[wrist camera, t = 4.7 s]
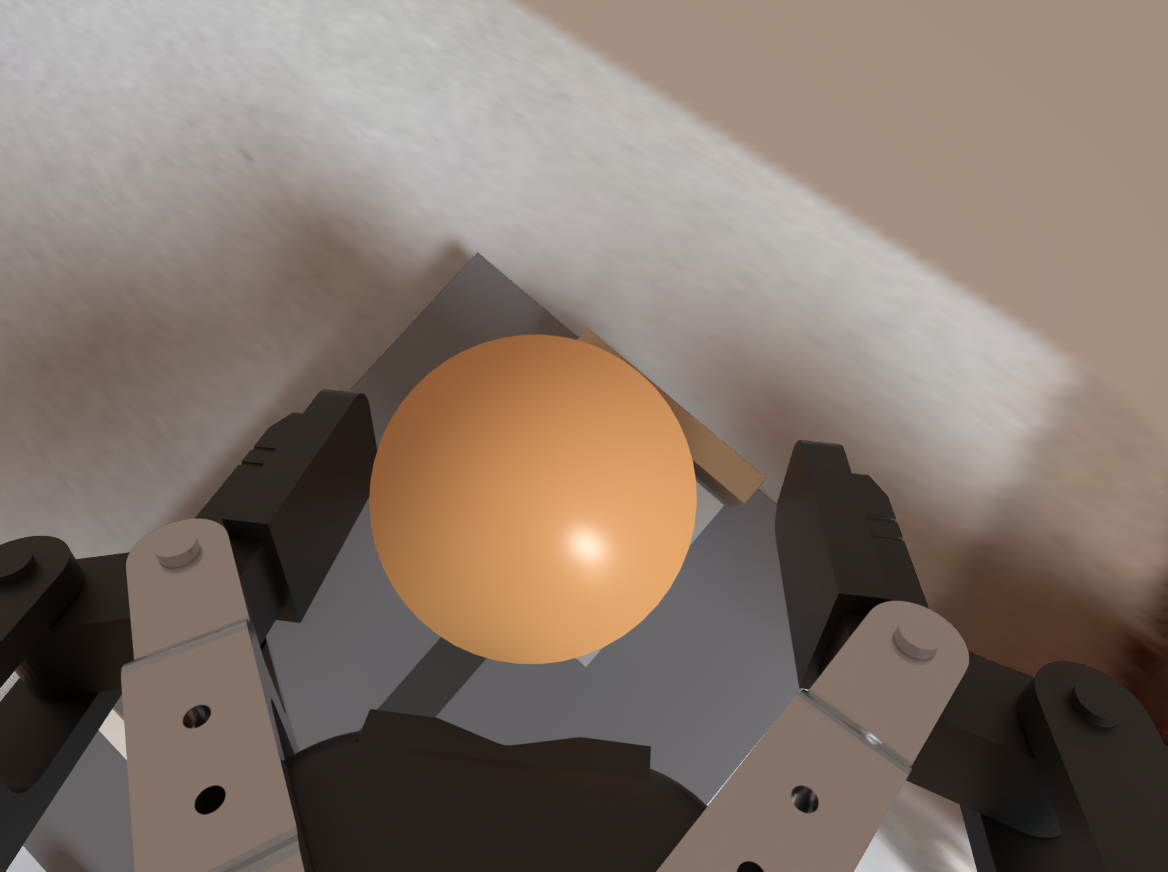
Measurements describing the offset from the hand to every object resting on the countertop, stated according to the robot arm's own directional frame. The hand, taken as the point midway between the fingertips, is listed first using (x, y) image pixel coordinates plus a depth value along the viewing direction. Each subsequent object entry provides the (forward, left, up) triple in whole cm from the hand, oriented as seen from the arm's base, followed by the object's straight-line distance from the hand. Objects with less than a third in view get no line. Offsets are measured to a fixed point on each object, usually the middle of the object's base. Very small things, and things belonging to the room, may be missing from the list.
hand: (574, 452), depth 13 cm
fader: (+1, -1, -5) cm, 5 cm away
